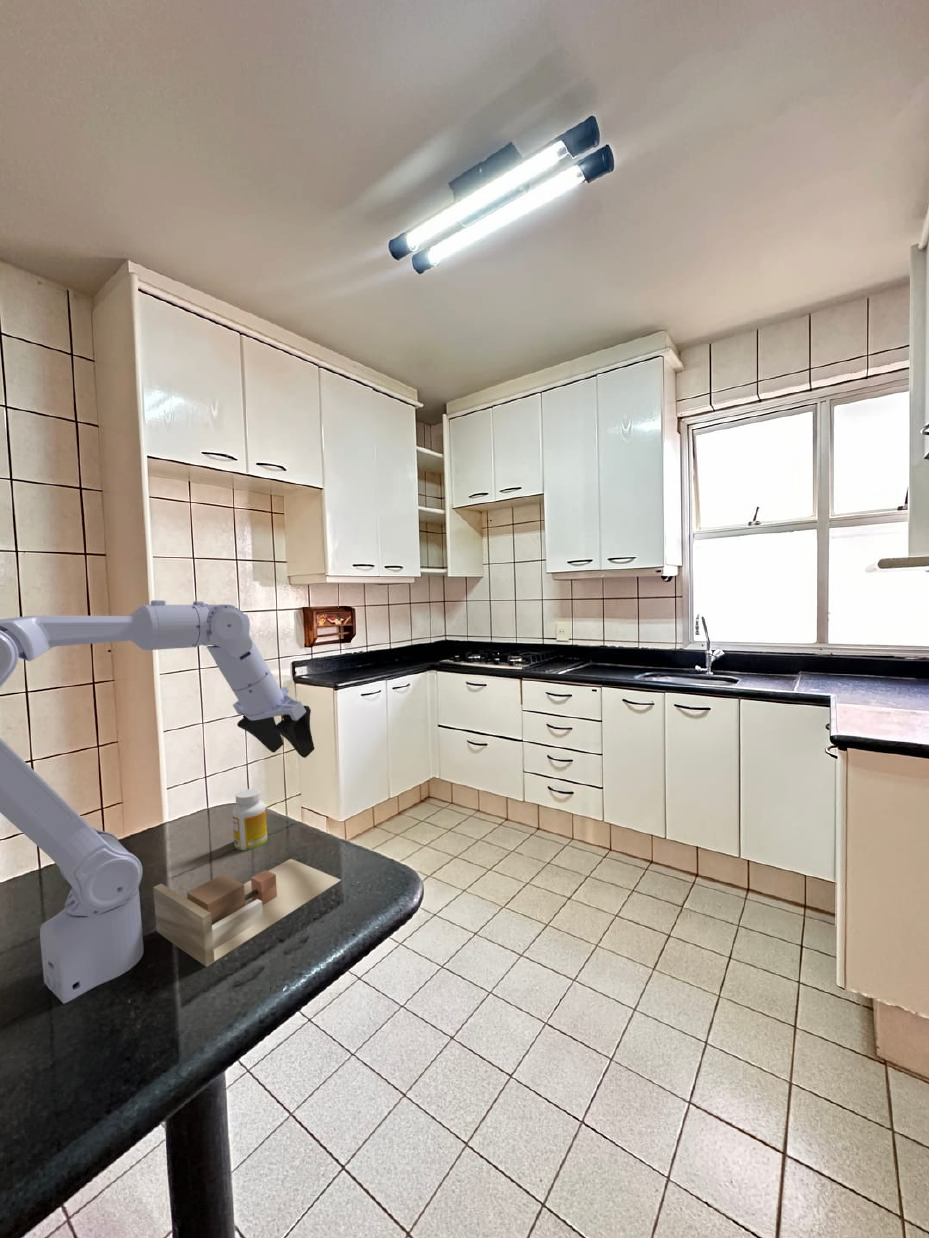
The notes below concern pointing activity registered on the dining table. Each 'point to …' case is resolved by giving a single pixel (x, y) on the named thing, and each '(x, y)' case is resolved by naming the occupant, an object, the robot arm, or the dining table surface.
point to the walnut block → (232, 894)
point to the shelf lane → (235, 913)
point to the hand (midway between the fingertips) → (293, 750)
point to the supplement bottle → (249, 820)
